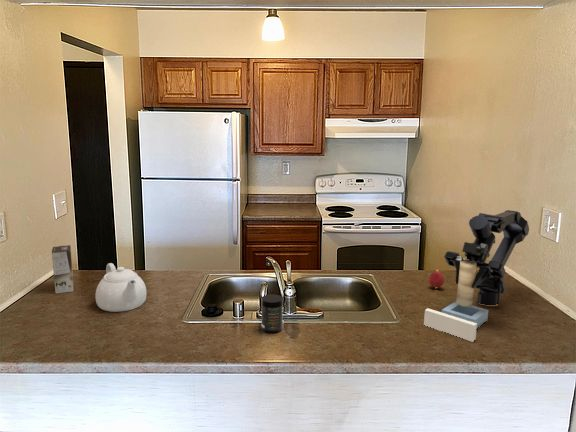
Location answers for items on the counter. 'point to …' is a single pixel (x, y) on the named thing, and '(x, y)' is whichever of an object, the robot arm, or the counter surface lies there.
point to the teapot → (120, 290)
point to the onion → (436, 279)
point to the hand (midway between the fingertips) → (464, 285)
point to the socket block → (467, 313)
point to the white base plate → (450, 324)
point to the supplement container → (272, 313)
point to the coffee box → (62, 269)
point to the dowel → (466, 283)
